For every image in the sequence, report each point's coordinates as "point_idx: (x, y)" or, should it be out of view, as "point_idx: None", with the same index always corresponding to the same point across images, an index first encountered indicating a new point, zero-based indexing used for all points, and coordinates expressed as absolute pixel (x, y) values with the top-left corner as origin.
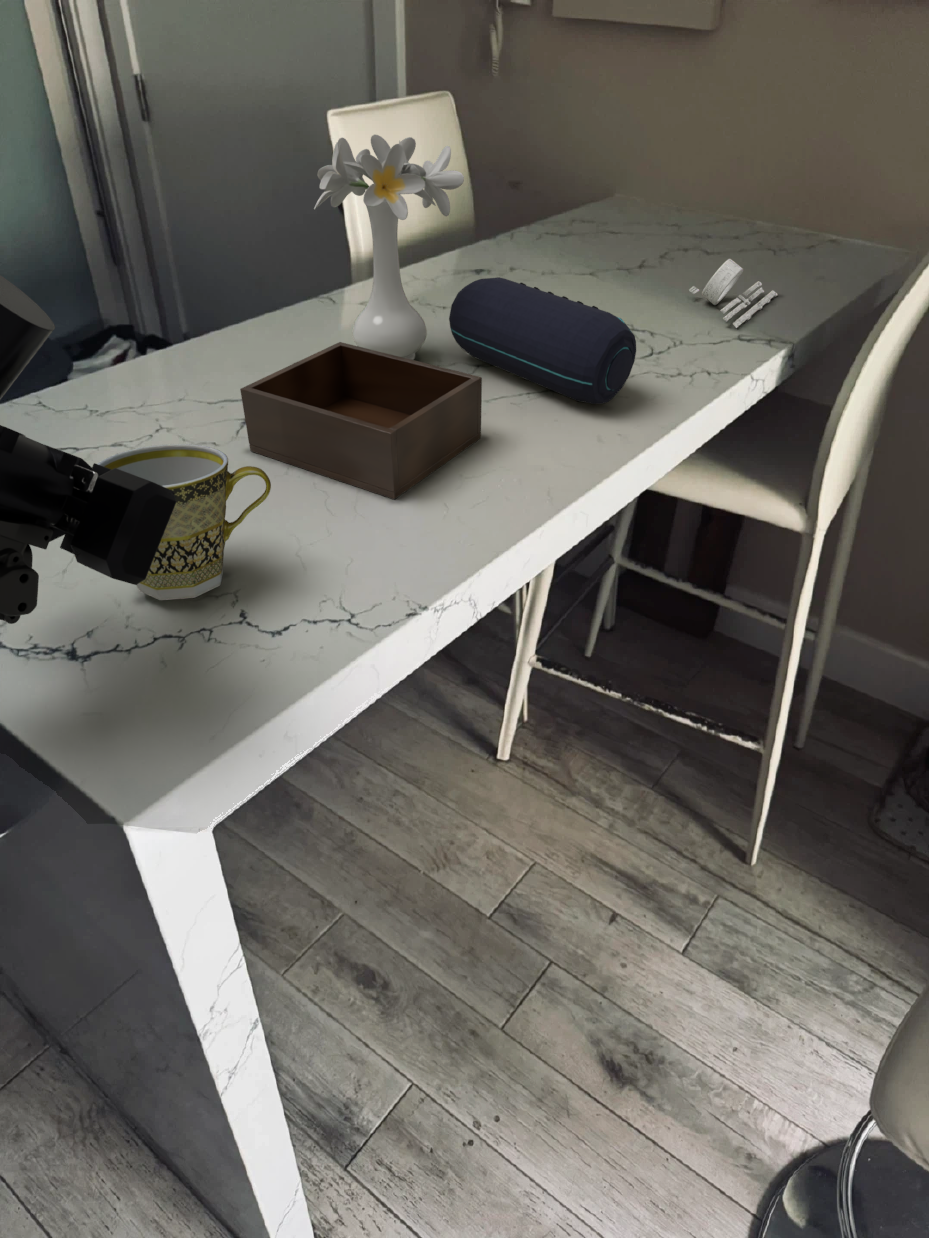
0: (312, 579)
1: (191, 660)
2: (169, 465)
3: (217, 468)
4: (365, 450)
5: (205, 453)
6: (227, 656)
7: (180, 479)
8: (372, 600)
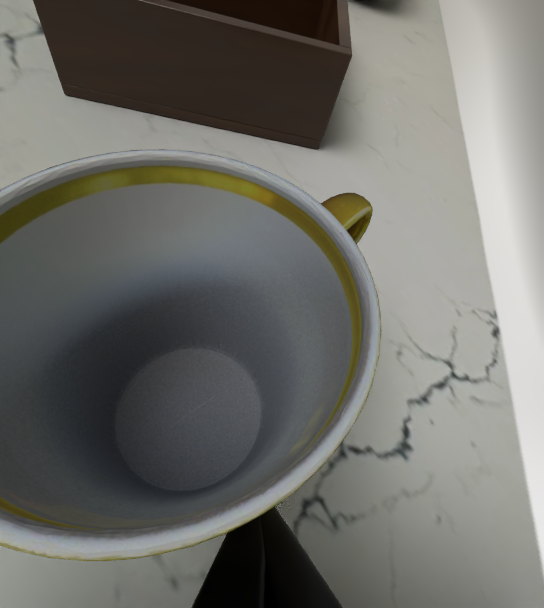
0: None
1: (351, 594)
2: (87, 218)
3: (233, 205)
4: (293, 84)
5: (188, 170)
6: (390, 544)
7: (121, 240)
8: (443, 326)
